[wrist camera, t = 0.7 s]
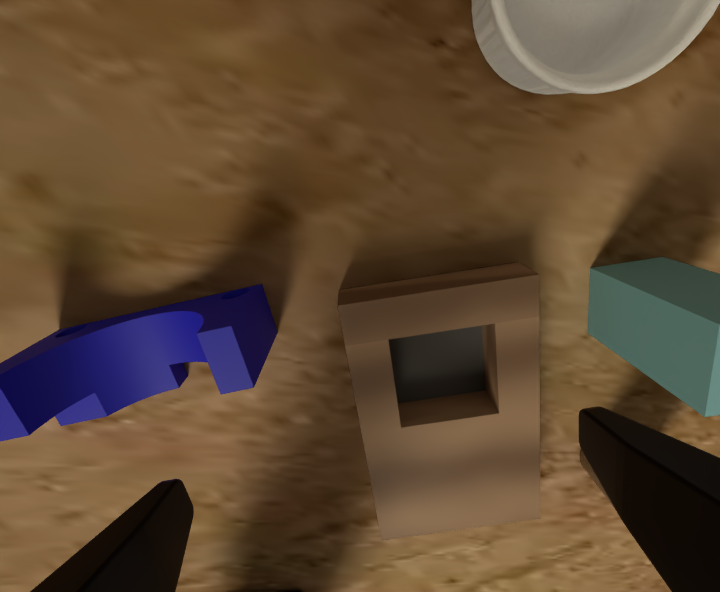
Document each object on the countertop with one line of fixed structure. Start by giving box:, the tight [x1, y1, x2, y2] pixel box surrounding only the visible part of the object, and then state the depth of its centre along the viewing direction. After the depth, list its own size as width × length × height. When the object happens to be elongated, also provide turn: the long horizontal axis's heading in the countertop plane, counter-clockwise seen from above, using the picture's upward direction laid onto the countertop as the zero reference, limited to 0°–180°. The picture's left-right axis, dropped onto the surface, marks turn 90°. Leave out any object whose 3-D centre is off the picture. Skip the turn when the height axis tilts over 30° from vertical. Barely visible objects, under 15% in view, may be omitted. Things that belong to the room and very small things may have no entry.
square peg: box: [588, 257, 720, 417], centre depth 18 cm, size 4×4×8 cm
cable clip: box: [0, 284, 277, 441], centre depth 20 cm, size 12×4×6 cm, turn 103°
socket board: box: [338, 262, 540, 540], centre depth 23 cm, size 16×10×2 cm, turn 9°
